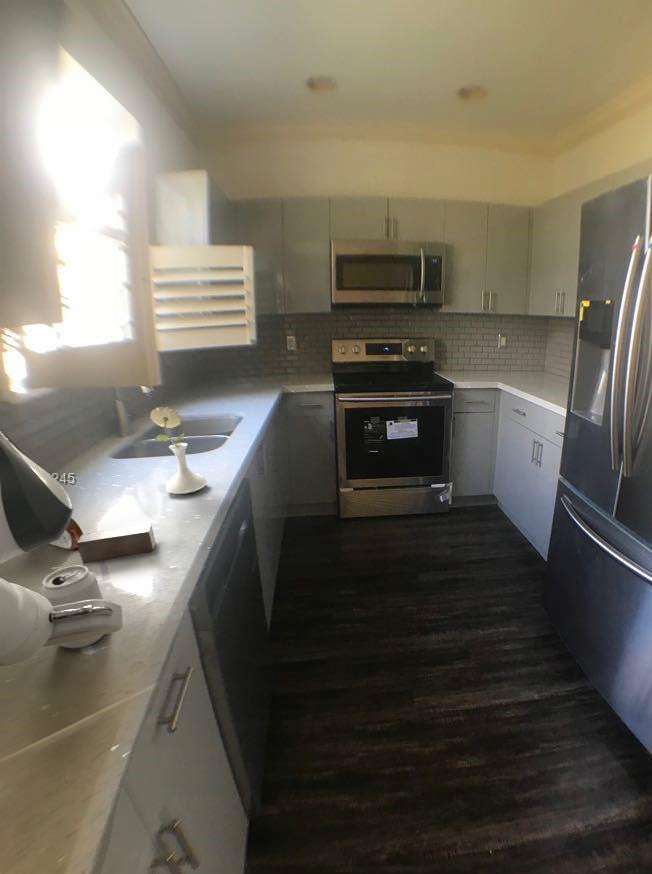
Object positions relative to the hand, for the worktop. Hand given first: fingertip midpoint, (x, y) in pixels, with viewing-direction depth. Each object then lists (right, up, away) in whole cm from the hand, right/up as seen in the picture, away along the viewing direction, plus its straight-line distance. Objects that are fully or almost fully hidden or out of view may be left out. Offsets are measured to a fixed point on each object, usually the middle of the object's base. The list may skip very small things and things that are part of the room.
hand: (57, 638), depth 66 cm
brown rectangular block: (-11, +7, +36) cm, 38 cm away
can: (-2, -3, +10) cm, 11 cm away
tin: (-28, +8, +40) cm, 49 cm away
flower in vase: (-12, +20, +70) cm, 74 cm away
